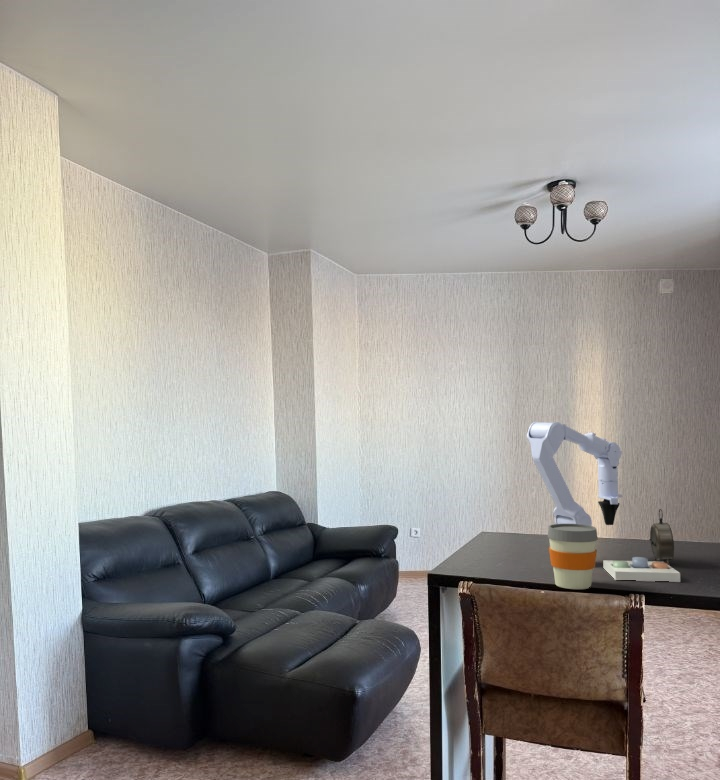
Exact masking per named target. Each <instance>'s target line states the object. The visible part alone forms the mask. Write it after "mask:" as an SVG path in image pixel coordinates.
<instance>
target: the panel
mask: <svg viewBox="0 0 720 780" xmlns="http://www.w3.org/2000/svg"><path fill="white" fill-rule="evenodd" d="M602 561H603V562H602V564H603V565H602V567H603V568H604V569H605V570H606V571H607V572H608V573H609V574H610V575H611V576H612V577H613V578H614V579H613V578H612V577H611V576H610V575H609V574H608V573H607V574H608V575H609V576H610V577H611V578H612V579H613V580H614V581H616V580H636V581H635V582H655V581H669V582H668V583H681V572H679V571H678V570H676V569H675V568H673V567H672V566H669V565H670V564H669V565H668V569H653V568H652V562H658V560H656V561H654V560H653V561H652V560H651V561H648V568H633V567H632V560H624V561H625V562H628V568H614V567H613V561H614V560H606V559H605V560H602ZM663 562H664V561H663ZM664 563H666V562H664ZM604 569H603V570H604ZM605 570H604V571H605ZM606 571H605V572H606Z"/></svg>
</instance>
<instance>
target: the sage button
mask: <svg viewBox="0 0 720 780" xmlns="http://www.w3.org/2000/svg"><path fill="white" fill-rule="evenodd" d="M612 561H613V567H614V568H628V562H625V561H626V560H612Z"/></svg>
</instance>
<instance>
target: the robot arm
mask: <svg viewBox="0 0 720 780" xmlns="http://www.w3.org/2000/svg"><path fill="white" fill-rule="evenodd" d="M526 439H527V440H528V443H529V445H530V451H531V458H532V460H533V463H534V465H535V466H536V469H537V471H538V473H539V475H540V477H541V478H542V481H543V483H544V485H545V487H546V489H547V491H548V493H549V495H550V497H551V499H552V501H553V504H554V505H555V507H554V509H553V511H552V514H553V516H554V523H555V524H582V525H589V526H592V525H593V520H592V517H591V515H590V514H589V513H587V512H586V510H585V509H584V507H583V506H581V505H580V504H579V503H578V502H576V501H575V499H574V498H573V496H572V493H571V491H570V489H569V487H568V485H567V483H566V481H565V479H564V477H563V474H562V473H561V470H560V469H559V466H558V465H557V463H556V460H555V458H554V455H556V454H557V452H558V450H559V448H561V445H562V443H563V441H567V442H570V443H572V444H573V443H574V444H576V445H578V447H579V449H580V450H581V451H583V452H585V453H588V454H589V455H591V456H593V457H594V459H596V460H597V473H598V474H597V476H598V477H597V479H598V481H597V482H598V494H597V498H599V499H603V501H602V500H600V501H598V502H597V503H598V506H599V507H600V510H601V513H602V517H603V520H604V523H605V525H606V526H613V525H614V524H615V518H616V513H617V510H618V508H619V507H620V502H618V501H619V498H623V494H619V475H618V471H619V470H618V466H619V464H620V459H621V456H622V450H621V447H620V446H619V445H618V443H616V442H613V441H608V440H607V439H606V438H605V437H602V438H601V437H599V436H597V435H596V433H595V432H587V433H584V434H582V433H581V432H579V431H577V430H575V429H573V428H571V427H570V426H568V425H566V424H564V423H561V422H557V421H555V422H543V421H541V422H540V421H534V422H532V423H531V424H529V428H528V430H527V433H526Z"/></svg>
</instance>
